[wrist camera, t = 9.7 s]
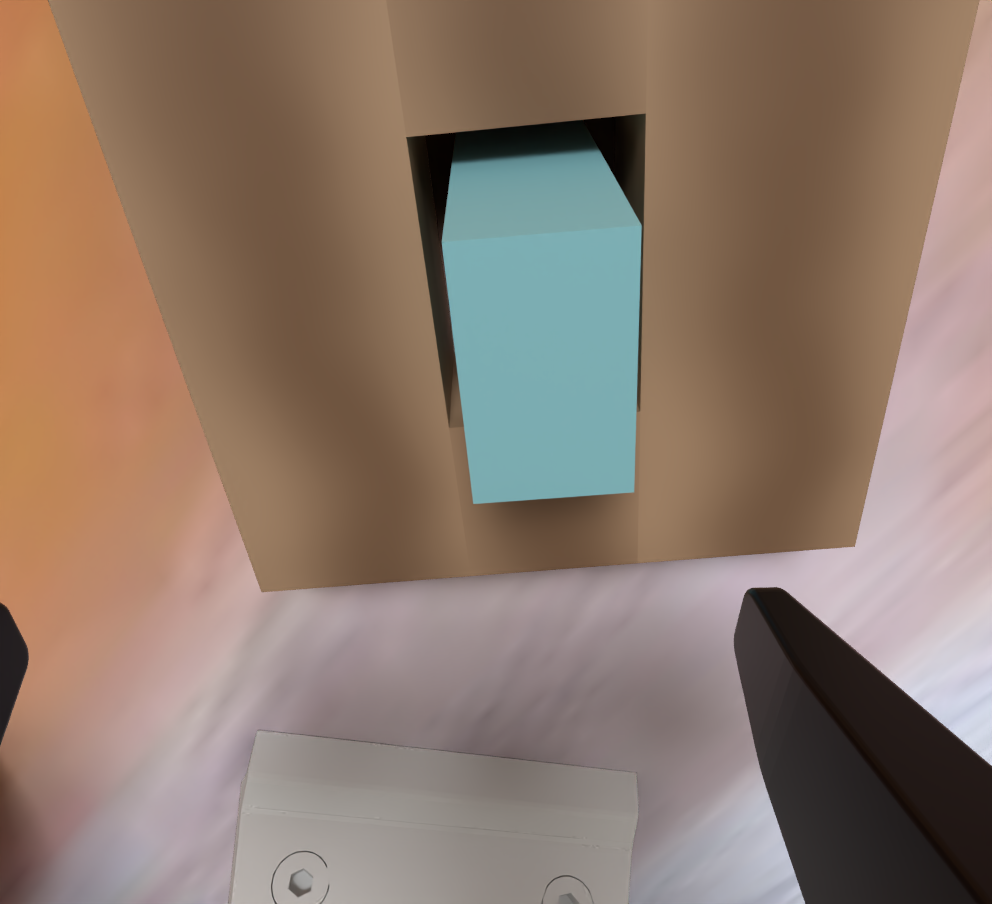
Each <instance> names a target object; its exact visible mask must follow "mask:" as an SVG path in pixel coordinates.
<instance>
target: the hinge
mask: <svg viewBox="0 0 992 904" xmlns="http://www.w3.org/2000/svg"><path fill="white" fill-rule="evenodd" d="M638 812H639V808H638V790H637V773H635V772H626V771H617V770H608V769H599V768H590V767H581V766H573V765H564V764H555V763H546V762H537V761H528V760H519V759H511V758H502V757H493V756H484V755H475V754H466V753H458V752H449V751H440V750H431V749H422V748H413V747H404V746H396V745H387V744H378V743H369V742H360V741H351V740H342V739H334V738H325V737H316V736H307V735H298V734H289V733H281V732H272V731H263V730H258V731H257V734H256V736H255V740H254V745H253V749H252V753H251V757H250V761H249V765H248V770H247V773H246V775H245V777H244V779H243V780H242V782H241V790H240V799H239V808H238V817H237V826H236V836H235V845H234V854H233V863H232V872H231V881H230V890H229V900H228V904H628V902H629V887H630V873H631V858H632V847H633V841H634V836H635V831H636V826H637V821H638ZM327 890H328V892H327Z"/></svg>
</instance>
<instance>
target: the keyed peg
mask: <svg viewBox="0 0 992 904" xmlns="http://www.w3.org/2000/svg"><path fill="white" fill-rule="evenodd" d="M641 230H642V225H641V223H640V222H639V220H638V218H637V216H636V214H635V213H634V211H633V209H632V207H631V206H630V204H629V202H628V200H627V198H626V197H625V195H624V193H623V191H622V190H621V188H620V186H619V184H618V182H617V181H616V179H615V177H614V175H613V173H612V172H611V170H610V168H609V166H608V165H607V163H606V161H605V159H604V157H603V156H602V154H601V152H600V150H599V148H598V147H597V145H596V143H595V141H594V140H593V138H592V136H591V134H590V132H589V131H588V129H587V127H586V125H585V123H584V122H583V120H574V121H564V122H554V123H544V124H534V125H524V126H514V127H504V128H493V129H483V130H473V131H463V132H456V135H455V143H454V151H453V158H452V166H451V174H450V182H449V189H448V197H447V205H446V212H445V220H444V228H443V236H442V249H443V257H444V266H445V274H446V282H447V290H448V299H449V307H450V315H451V323H452V332H453V340H454V348H455V356H456V365H457V373H458V381H459V389H460V398H461V406H462V414H463V422H464V431H465V439H466V447H467V455H468V464H469V472H470V480H471V488H472V497H473V504H481V503H494V502H508V501H522V500H536V499H549V498H563V497H577V496H591V495H604V494H618V493H632V492H634V480H635V444H636V408H637V373H638V337H639V301H640V266H641Z"/></svg>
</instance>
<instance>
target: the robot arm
mask: <svg viewBox="0 0 992 904" xmlns="http://www.w3.org/2000/svg"><path fill="white" fill-rule="evenodd" d="M734 650H735V656H736V660H737V665H738V670H739V674H740V679H741V683H742V688H743V693H744V697H745V702H746V707H747V711H748V716H749V720H750V725H751V730H752V734H753V739H754V744H755V748H756V752H757V757H758V761H759V765H760V769H761V772H762V775H763V779H764V782H765V785H766V788H767V791H768V794H769V797H770V800H771V803H772V806H773V809H774V812H775V815H776V818H777V821H778V824H779V827H780V830H781V833H782V836H783V839H784V842H785V845H786V848H787V851H788V854H789V857H790V860H791V863H792V865H793V868H794V871H795V874H796V877H797V880H798V883H799V886H800V889H801V892H802V895H803V898H804V901H805V904H992V766H991V765H990V764H989V763H988V762H986V761H985V760H984V759H983V758H982V757H980V756H979V755H978V754H977V753H976V752H975V751H973V750H972V749H971V748H970V747H969V746H968V745H966V744H965V743H964V742H963V741H962V740H960V739H959V738H958V737H957V736H956V735H955V734H953V733H952V732H951V731H950V730H949V729H948V728H946V727H945V726H944V725H943V724H942V723H940V722H939V721H938V720H937V719H936V718H935V717H933V716H932V715H931V714H930V713H929V712H928V711H926V710H925V709H924V708H923V707H922V706H921V705H919V704H918V703H917V702H916V701H915V700H913V699H912V698H911V697H910V696H909V695H908V694H906V693H905V692H904V691H903V690H902V689H901V688H899V687H898V686H897V685H896V684H895V683H893V682H892V681H891V680H890V679H889V678H888V677H886V676H885V675H884V674H883V673H882V672H881V671H879V670H878V669H877V668H876V667H875V666H873V665H872V664H871V663H870V662H869V661H868V660H866V659H865V658H864V657H863V656H862V655H861V654H859V653H858V652H857V651H856V650H855V649H854V648H852V647H851V646H850V645H849V644H848V643H846V642H845V641H844V640H843V639H842V638H841V637H839V636H838V635H837V634H836V633H835V632H834V631H832V630H831V629H830V628H829V627H828V626H826V625H825V624H824V623H823V622H822V621H821V620H819V619H818V618H817V617H816V616H815V615H814V614H812V613H811V612H810V611H809V610H808V609H806V608H805V607H804V606H803V605H802V604H801V603H799V602H798V601H797V600H796V599H795V598H794V597H792V596H791V595H790V594H789V593H788V592H786V591H785V590H783V589H781V588H777V587H772V588H751V589H749V590H747V592H746V593H745V595H744V598H743V602H742V606H741V610H740V614H739V618H738V622H737V626H736V629H735V634H734ZM28 660H29V656H28V648H27V645H26V643H25V641H24V639H23V637H22V635H21V633H20V631H19V629H18V627H17V625H16V623H15V621H14V619H13V617H12V616H11V614H10V612H9V610H8V608H7V607H6V606H5V605H3V604H2V603H0V745H1V742H2V739H3V736H4V733H5V731H6V728H7V725H8V722H9V719H10V716H11V713H12V710H13V707H14V704H15V702H16V699H17V696H18V693H19V690H20V687H21V684H22V681H23V678H24V675H25V673H26V670H27V666H28Z"/></svg>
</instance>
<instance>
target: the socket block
mask: <svg viewBox="0 0 992 904" xmlns="http://www.w3.org/2000/svg"><path fill="white" fill-rule="evenodd" d="M48 2H49V4H50V7H51V10H52V13H53V16H54V18H55V21H56V24H57V27H58V29H59V32H60V35H61V38H62V40H63V43H64V46H65V49H66V52H67V54H68V57H69V60H70V63H71V65H72V68H73V71H74V74H75V77H76V79H77V82H78V85H79V88H80V90H81V93H82V96H83V99H84V101H85V104H86V107H87V110H88V113H89V115H90V118H91V121H92V124H93V126H94V129H95V132H96V135H97V137H98V140H99V143H100V146H101V149H102V151H103V154H104V157H105V160H106V162H107V165H108V168H109V171H110V173H111V176H112V179H113V182H114V185H115V187H116V190H117V193H118V196H119V198H120V201H121V204H122V207H123V209H124V212H125V215H126V218H127V221H128V223H129V226H130V229H131V232H132V234H133V237H134V240H135V243H136V246H137V248H138V251H139V254H140V257H141V259H142V262H143V265H144V268H145V270H146V273H147V276H148V279H149V282H150V284H151V287H152V290H153V293H154V295H155V298H156V301H157V304H158V306H159V309H160V312H161V315H162V318H163V320H164V323H165V326H166V329H167V331H168V334H169V337H170V340H171V342H172V345H173V348H174V351H175V354H176V356H177V359H178V362H179V365H180V367H181V370H182V373H183V376H184V379H185V381H186V384H187V387H188V390H189V392H190V395H191V398H192V401H193V403H194V406H195V409H196V412H197V415H198V417H199V420H200V423H201V426H202V428H203V431H204V434H205V437H206V439H207V442H208V445H209V448H210V451H211V453H212V456H213V459H214V462H215V464H216V467H217V470H218V473H219V475H220V478H221V481H222V484H223V487H224V489H225V492H226V495H227V498H228V500H229V503H230V506H231V509H232V511H233V514H234V517H235V520H236V523H237V525H238V528H239V531H240V534H241V536H242V539H243V542H244V545H245V548H246V550H247V553H248V556H249V559H250V561H251V564H252V567H253V570H254V572H255V575H256V578H257V581H258V584H259V586H260V589H261V592H270V591H283V590H296V589H309V588H322V587H335V586H348V585H361V584H374V583H387V582H400V581H413V580H426V579H439V578H452V577H465V576H478V575H491V574H504V573H517V572H530V571H543V570H556V569H569V568H582V567H595V566H608V565H621V564H634V563H647V562H660V561H673V560H686V559H699V558H712V557H725V556H738V555H751V554H764V553H777V552H790V551H803V550H816V549H829V548H842V547H855V543H856V539H857V534H858V530H859V525H860V521H861V517H862V512H863V508H864V504H865V499H866V495H867V490H868V486H869V482H870V477H871V473H872V468H873V464H874V460H875V455H876V451H877V447H878V442H879V438H880V433H881V429H882V425H883V420H884V416H885V412H886V407H887V403H888V398H889V394H890V390H891V385H892V381H893V377H894V372H895V368H896V363H897V359H898V355H899V350H900V346H901V341H902V337H903V333H904V328H905V324H906V320H907V315H908V311H909V306H910V302H911V298H912V293H913V289H914V285H915V280H916V276H917V271H918V267H919V263H920V258H921V254H922V250H923V245H924V241H925V236H926V232H927V228H928V223H929V219H930V215H931V210H932V206H933V201H934V197H935V193H936V188H937V184H938V179H939V175H940V171H941V166H942V162H943V158H944V153H945V149H946V144H947V140H948V136H949V131H950V127H951V123H952V118H953V114H954V109H955V105H956V101H957V96H958V92H959V88H960V83H961V79H962V74H963V70H964V66H965V61H966V57H967V53H968V48H969V44H970V39H971V35H972V31H973V26H974V22H975V17H976V13H977V9H978V4H979V0H48ZM605 117H615V179H616V181H617V182H618V184H619V186H620V188H621V190H622V191H623V193H624V195H625V197H626V198H627V200H628V202H629V204H630V206H631V207H632V209H633V211H634V213H635V214H636V216H637V218H638V220H639V222H640V223H641V225H642V230H641V266H640V301H639V337H638V373H637V408H636V444H635V480H634V492H632V493H618V494H604V495H591V496H577V497H563V498H549V499H536V500H522V501H508V502H494V503H481V504H473V497H472V488H471V480H470V472H469V464H468V455H467V447H466V439H465V431H464V422H463V414H462V406H461V398H460V389H459V381H458V373H457V365H456V356H455V352H454V347H453V339H452V332H451V324H450V317H449V309H448V302H447V294H446V287H445V279H444V272H443V264H442V257H441V250H440V242H439V235H438V227H437V220H436V212H435V205H434V197H433V190H432V182H431V175H430V167H429V160H428V152H427V145H426V137H425V135H433V134H443V133H453V132H463V131H473V130H483V129H493V128H504V127H514V126H524V125H534V124H544V123H554V122H564V121H574V120H584V119H594V118H605Z"/></svg>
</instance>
